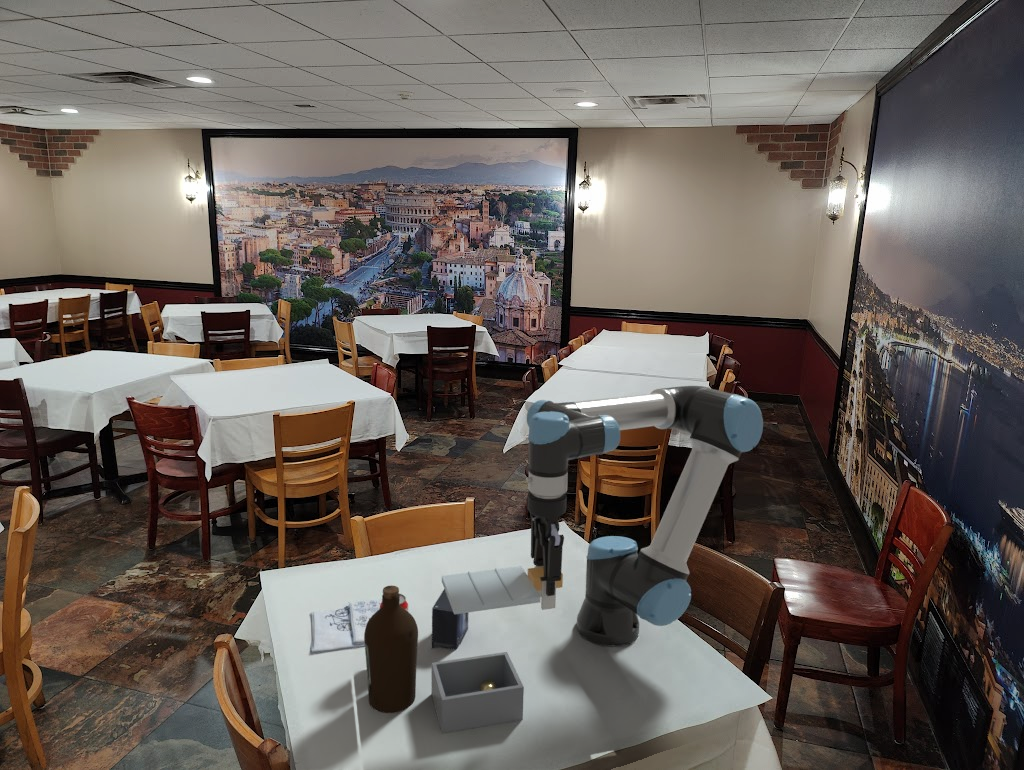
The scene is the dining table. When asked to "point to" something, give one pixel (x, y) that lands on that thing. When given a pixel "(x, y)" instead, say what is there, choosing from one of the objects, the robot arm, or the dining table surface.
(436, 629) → the small box
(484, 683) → the part
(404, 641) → the brown tall rounded piece
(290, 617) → the dining table surface
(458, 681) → the tub
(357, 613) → the white printed cloths
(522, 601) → the lid
